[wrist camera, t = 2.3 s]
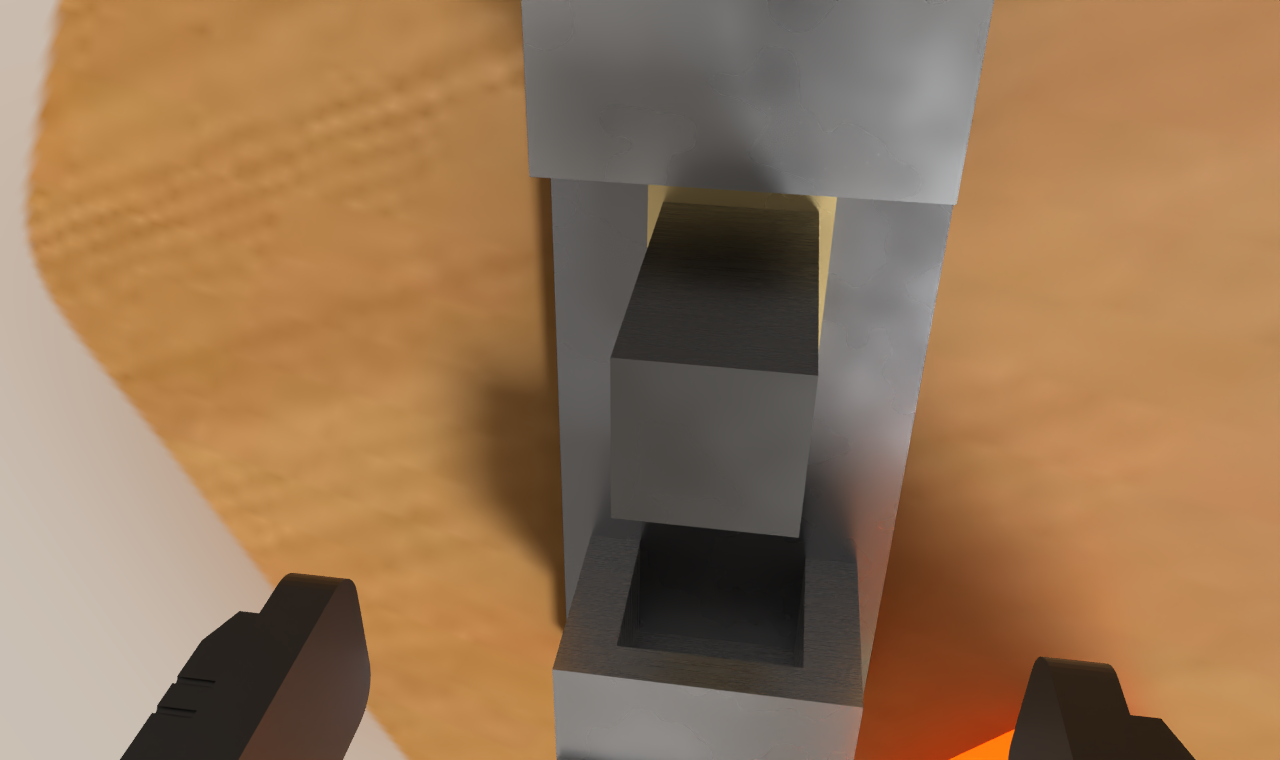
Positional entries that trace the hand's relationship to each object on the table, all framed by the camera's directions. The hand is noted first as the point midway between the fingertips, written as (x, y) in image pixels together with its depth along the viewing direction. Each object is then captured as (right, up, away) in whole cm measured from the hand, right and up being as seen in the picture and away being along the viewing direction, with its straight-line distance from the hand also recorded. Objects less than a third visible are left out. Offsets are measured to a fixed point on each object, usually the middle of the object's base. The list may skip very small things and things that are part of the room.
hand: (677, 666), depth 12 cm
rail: (+2, +5, +14) cm, 15 cm away
